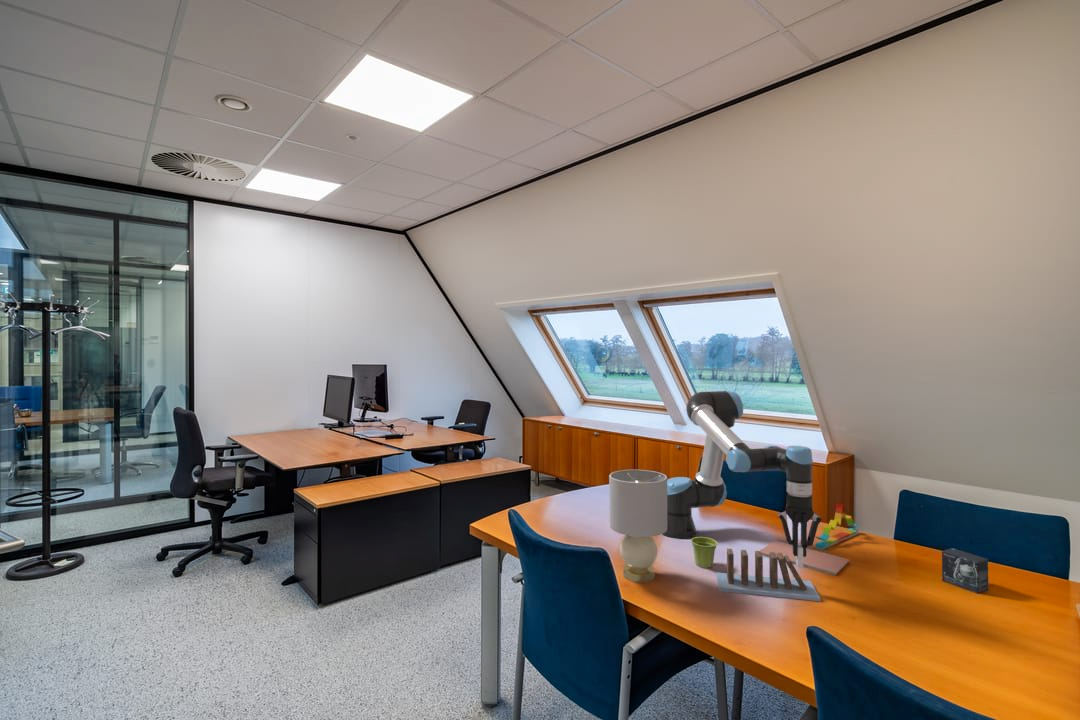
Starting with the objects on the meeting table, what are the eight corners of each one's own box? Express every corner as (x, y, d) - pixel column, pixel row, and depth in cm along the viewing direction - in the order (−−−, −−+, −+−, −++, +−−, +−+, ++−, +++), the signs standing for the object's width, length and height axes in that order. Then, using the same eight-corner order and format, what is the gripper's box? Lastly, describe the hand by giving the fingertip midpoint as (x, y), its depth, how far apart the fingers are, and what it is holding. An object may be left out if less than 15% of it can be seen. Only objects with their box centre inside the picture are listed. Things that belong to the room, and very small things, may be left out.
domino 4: (772, 588, 166) (772, 557, 166) (769, 581, 171) (769, 551, 171) (777, 588, 166) (777, 558, 166) (774, 581, 171) (774, 552, 170)
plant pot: (717, 561, 191) (717, 538, 191) (717, 571, 182) (717, 547, 182) (691, 558, 194) (691, 535, 194) (690, 568, 185) (690, 544, 185)
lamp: (631, 559, 194) (631, 467, 193) (679, 575, 179) (678, 475, 179) (598, 575, 179) (597, 476, 179) (646, 594, 165) (646, 486, 165)
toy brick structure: (823, 550, 201) (823, 512, 201) (815, 548, 204) (815, 510, 204) (858, 534, 219) (858, 499, 219) (850, 532, 221) (850, 498, 221)
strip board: (719, 591, 167) (719, 587, 167) (716, 575, 179) (716, 572, 178) (820, 601, 159) (820, 597, 159) (810, 584, 171) (810, 581, 171)
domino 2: (743, 585, 168) (742, 555, 168) (741, 578, 173) (740, 549, 173) (748, 585, 168) (748, 555, 168) (746, 579, 173) (745, 550, 173)
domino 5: (787, 589, 165) (779, 559, 165) (784, 582, 170) (776, 553, 170) (792, 588, 165) (784, 558, 165) (789, 582, 169) (781, 552, 170)
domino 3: (757, 586, 167) (757, 556, 167) (755, 580, 172) (755, 550, 172) (762, 587, 167) (762, 556, 167) (760, 580, 172) (760, 551, 172)
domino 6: (802, 591, 164) (785, 562, 165) (798, 584, 169) (782, 556, 170) (807, 589, 164) (790, 560, 165) (803, 582, 168) (787, 554, 170)
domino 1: (728, 583, 169) (728, 553, 169) (727, 577, 174) (726, 548, 174) (733, 584, 169) (733, 554, 169) (732, 577, 174) (731, 548, 174)
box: (941, 581, 173) (940, 550, 173) (952, 577, 176) (952, 547, 175) (978, 594, 163) (977, 562, 163) (989, 590, 166) (989, 558, 166)
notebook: (850, 563, 189) (850, 558, 189) (836, 577, 178) (836, 571, 178) (775, 544, 209) (775, 539, 209) (758, 556, 197) (758, 550, 197)
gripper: (780, 496, 164) (780, 568, 164) (824, 498, 161) (825, 572, 161) (775, 490, 171) (775, 559, 172) (817, 492, 168) (818, 563, 168)
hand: (799, 565), depth 166 cm, fingers closed
